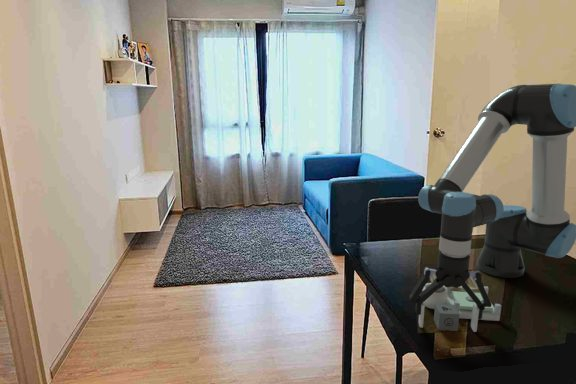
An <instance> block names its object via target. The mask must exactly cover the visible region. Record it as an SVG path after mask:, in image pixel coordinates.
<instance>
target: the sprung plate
mask: <svg viewBox="0 0 576 384" xmlns="http://www.w3.org/2000/svg"><path fill="white" fill-rule="evenodd" d="M451 295H452V297H453V298H454V300H455V301H459V303H460V307H459V309H464V310H473V304H476V303H475V302H474V301H473V299H472V298H471V297H470V296H469V295H468V293H467V292H457V291H452V293H451ZM475 295H476V296H477V297H478V298H479V300H480V301H482V300H483V298H482V296H481V294H480V292H479V293H475ZM476 305H477V304H476ZM483 311H493V307H492V306H491V307H485V309H484V310H483Z"/></svg>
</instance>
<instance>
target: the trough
mask: <svg viewBox="0 0 576 384" xmlns="http://www.w3.org/2000/svg"><path fill="white" fill-rule="evenodd" d="M436 278H437V276H436V275H435V274H434V275H433V276H432V277H431V278H429V281H430V283H432V282H433V281H434V280H435V279H436ZM465 282H466V284H467V285H468V286H469V287H470V289H471V290H472V291H473V292H474V293H480V291H479V289H478V287H477V285H476V282H475V280H473V279H472V277H469V278H468V279H467V280H466V281H465ZM452 291H457V292H466V291H465V290H464V289H463V287H462V286H460V287H458V288H454V287H451V289H450V293H452Z"/></svg>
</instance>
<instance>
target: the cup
mask: <svg viewBox="0 0 576 384" xmlns="http://www.w3.org/2000/svg"><path fill="white" fill-rule="evenodd" d="M430 284H431V282H427V284H426V285H425V287H424V288H423V290H422V291H424V290H425V289H426V288H427V287H428V286H429V285H430ZM447 294H448V289H447V288H446V287H445V286H442V287H441V288H440V289H438V290H437V291H435V292H434V293H433V294H432V295H431V296H430V297H429V298H428V299H426V300H425V301H424V305H425V308H428V309H431V310H435V304H447ZM447 305H448V304H447Z"/></svg>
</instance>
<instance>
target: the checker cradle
mask: <svg viewBox="0 0 576 384" xmlns="http://www.w3.org/2000/svg"><path fill="white" fill-rule="evenodd" d="M483 286H484V288H485V291H486V293H487V295H488V296H489V287H488V286H487V285H486V286H485V285H483ZM446 288H447V289H448V294H447V305H454V306H455V307H456V309H457V311H458V313H459V319H467V320H468V319H469V320H471V319H472V310H464V309H459V307H460V303H459V301H455V300H454V298H453V297H452V295H451V293H450V289H451V287H446ZM491 305H492V307H493V311H483V313H482V318H481V319H478V321H479V320H482V321H495V322H496V321H497V322H499V321H501V319H500V318H501V310H502V305H501V304H500V303H494V305H493V304H492V302H491Z"/></svg>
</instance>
